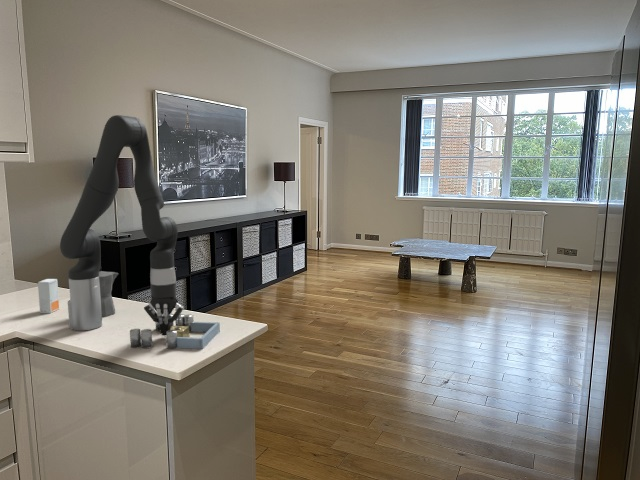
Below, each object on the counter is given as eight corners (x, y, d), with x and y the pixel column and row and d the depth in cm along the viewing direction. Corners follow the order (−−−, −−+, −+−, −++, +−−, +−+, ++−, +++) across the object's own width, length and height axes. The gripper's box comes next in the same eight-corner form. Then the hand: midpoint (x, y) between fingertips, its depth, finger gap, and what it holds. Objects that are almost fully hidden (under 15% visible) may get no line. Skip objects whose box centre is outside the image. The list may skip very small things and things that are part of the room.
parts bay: (172, 347, 144) (172, 337, 143) (192, 330, 160) (191, 321, 159) (203, 348, 143) (202, 339, 142) (219, 331, 159) (219, 322, 158)
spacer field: (128, 347, 144) (127, 331, 143) (156, 327, 162) (156, 313, 162) (175, 349, 142) (174, 333, 141) (198, 329, 161) (197, 314, 160)
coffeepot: (117, 308, 186) (114, 262, 184) (124, 313, 179) (122, 266, 176) (73, 315, 176) (70, 267, 174) (79, 321, 169) (76, 271, 167)
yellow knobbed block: (167, 341, 149) (167, 330, 149) (174, 336, 154) (173, 325, 154) (183, 342, 149) (182, 331, 148) (189, 337, 154) (188, 326, 153)
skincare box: (51, 313, 179) (48, 282, 177) (39, 313, 179) (37, 282, 177) (60, 309, 185) (57, 278, 183) (49, 308, 185) (46, 278, 183)
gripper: (137, 283, 147) (140, 337, 149) (178, 284, 145) (180, 339, 148) (148, 278, 154) (151, 330, 156) (188, 279, 153) (190, 331, 155)
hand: (165, 334), depth 152 cm, fingers closed
